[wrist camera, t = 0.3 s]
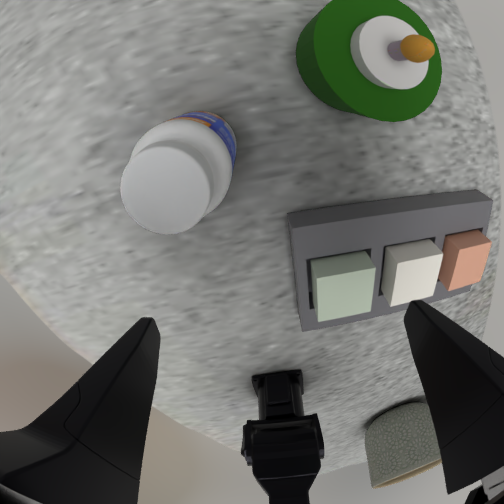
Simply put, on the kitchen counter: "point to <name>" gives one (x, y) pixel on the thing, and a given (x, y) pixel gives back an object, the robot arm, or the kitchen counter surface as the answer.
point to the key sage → (342, 285)
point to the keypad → (379, 240)
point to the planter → (401, 444)
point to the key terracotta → (463, 259)
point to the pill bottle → (179, 172)
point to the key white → (410, 271)
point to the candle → (370, 59)
